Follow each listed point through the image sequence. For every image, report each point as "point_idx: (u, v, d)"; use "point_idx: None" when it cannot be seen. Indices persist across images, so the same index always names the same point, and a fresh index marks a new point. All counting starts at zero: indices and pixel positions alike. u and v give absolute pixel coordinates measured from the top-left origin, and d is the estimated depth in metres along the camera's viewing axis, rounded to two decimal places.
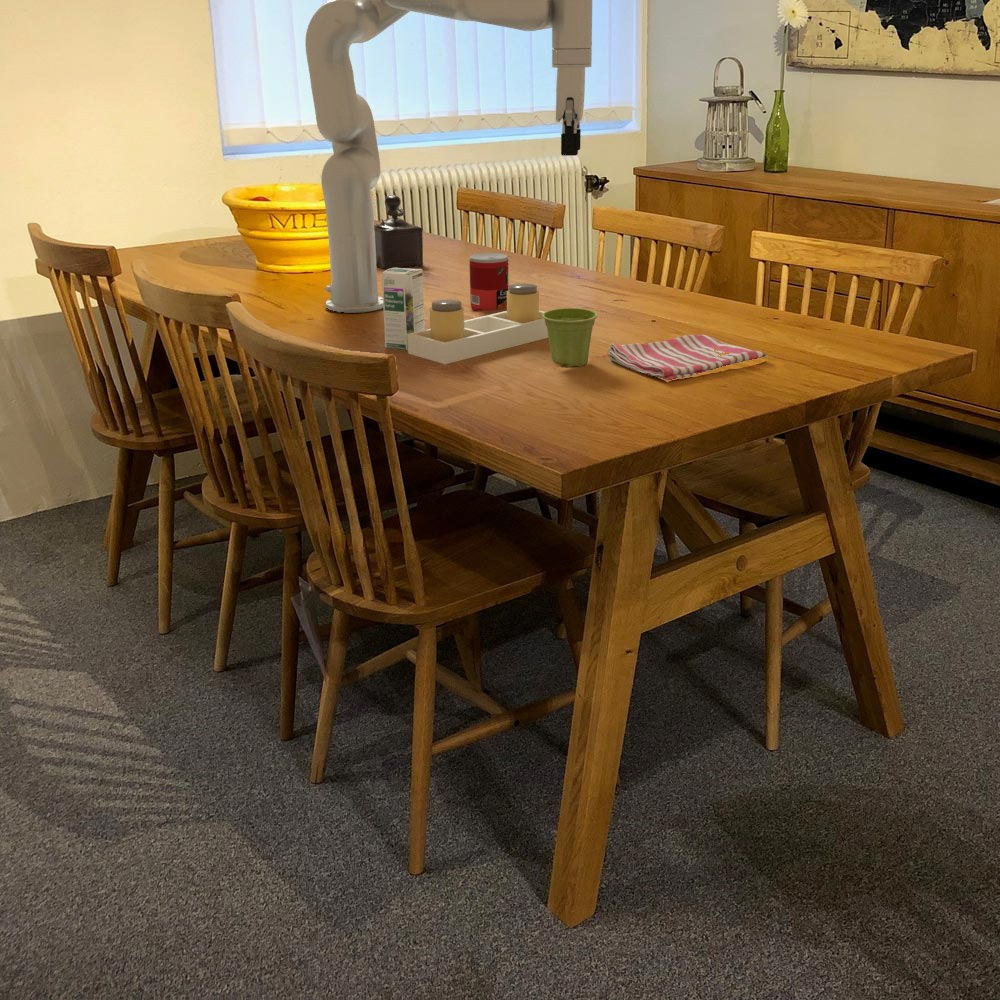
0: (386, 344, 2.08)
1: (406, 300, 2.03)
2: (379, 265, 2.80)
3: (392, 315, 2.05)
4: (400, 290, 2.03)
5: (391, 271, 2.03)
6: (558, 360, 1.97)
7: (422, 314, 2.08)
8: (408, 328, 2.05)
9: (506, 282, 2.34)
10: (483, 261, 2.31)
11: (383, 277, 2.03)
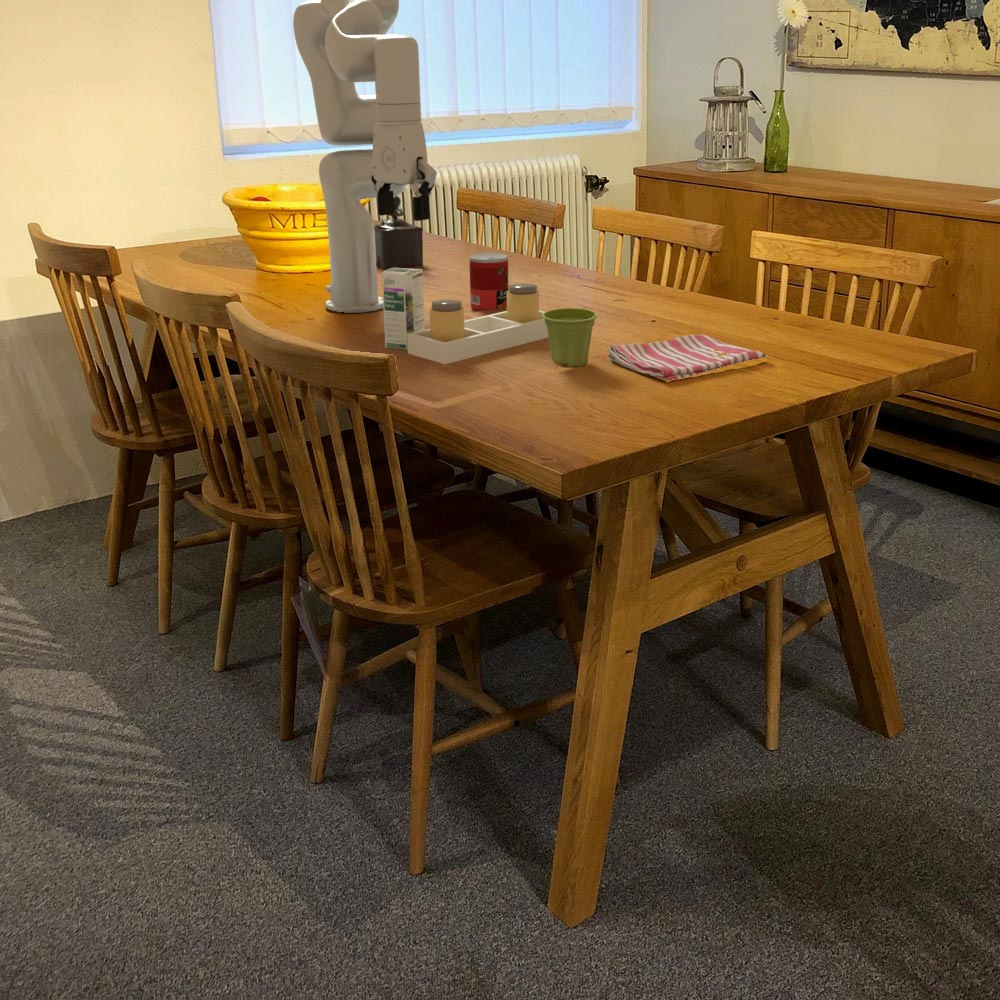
0: (386, 344, 2.08)
1: (406, 300, 2.03)
2: (379, 265, 2.80)
3: (392, 315, 2.05)
4: (400, 290, 2.03)
5: (391, 271, 2.03)
6: (558, 360, 1.97)
7: (422, 314, 2.08)
8: (408, 328, 2.05)
9: (506, 282, 2.34)
10: (483, 261, 2.31)
11: (383, 277, 2.03)
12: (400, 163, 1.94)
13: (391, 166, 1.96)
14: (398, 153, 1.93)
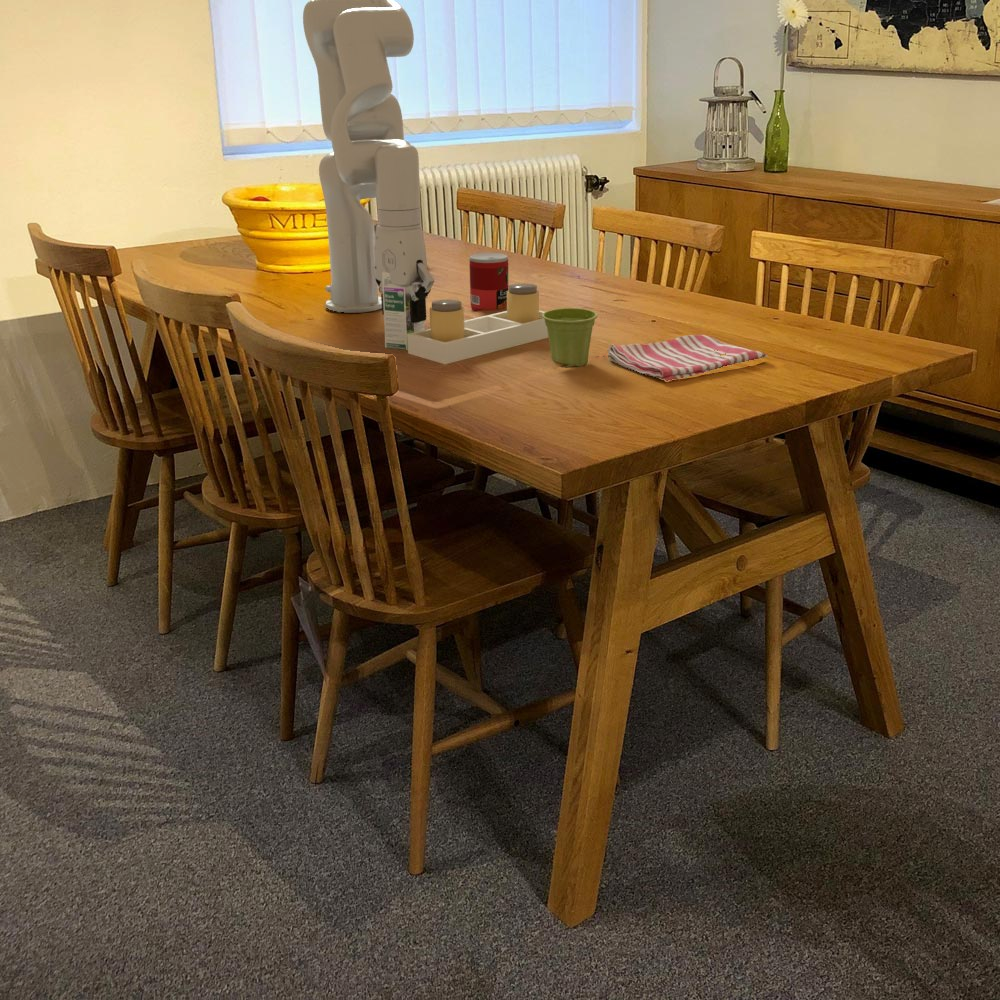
0: (386, 344, 2.08)
1: (406, 300, 2.03)
2: None
3: (392, 315, 2.05)
4: (400, 290, 2.03)
5: None
6: (558, 360, 1.97)
7: None
8: (408, 328, 2.05)
9: (506, 282, 2.34)
10: (483, 261, 2.31)
11: (383, 277, 2.03)
12: (400, 266, 2.00)
13: (392, 268, 2.02)
14: (398, 256, 2.00)
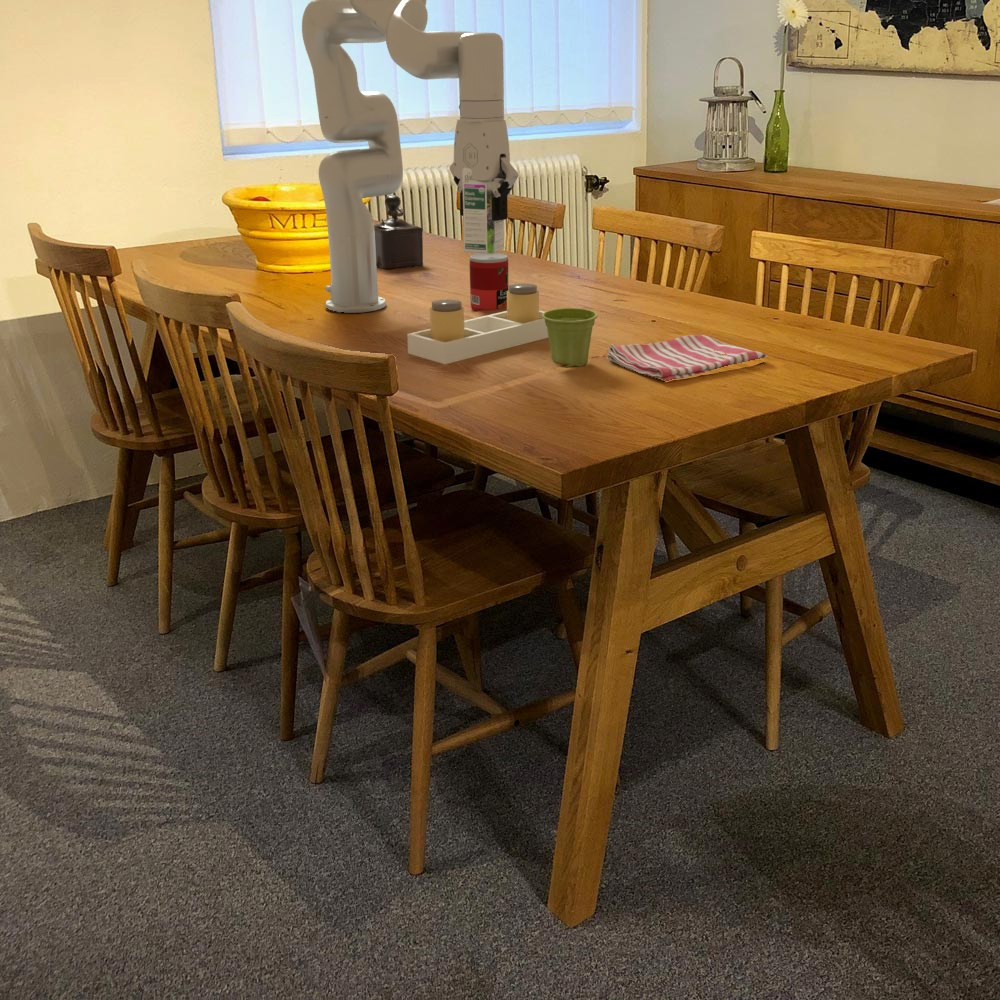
0: (465, 245, 2.01)
1: (488, 197, 1.96)
2: (379, 265, 2.80)
3: (472, 214, 1.98)
4: (482, 187, 1.96)
5: None
6: (558, 360, 1.97)
7: None
8: (489, 227, 1.98)
9: (506, 282, 2.34)
10: (483, 261, 2.31)
11: (464, 173, 1.97)
12: (483, 160, 1.93)
13: (473, 163, 1.95)
14: (481, 150, 1.93)
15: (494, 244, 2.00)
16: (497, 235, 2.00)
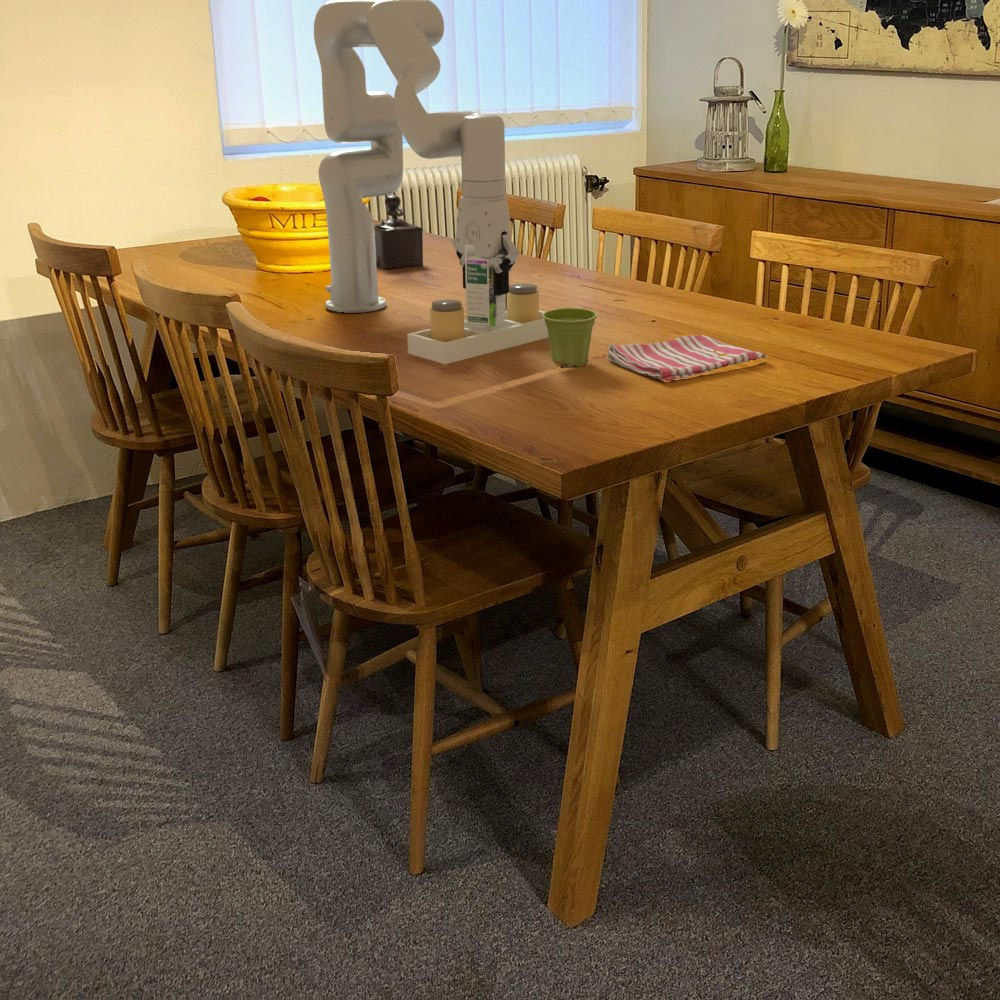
0: (467, 317, 2.06)
1: (490, 272, 2.01)
2: (379, 265, 2.80)
3: (475, 288, 2.03)
4: (484, 262, 2.01)
5: None
6: (558, 360, 1.97)
7: None
8: (491, 301, 2.03)
9: None
10: None
11: (466, 249, 2.02)
12: (485, 238, 1.98)
13: (475, 240, 2.00)
14: (483, 228, 1.98)
15: (496, 317, 2.05)
16: (499, 308, 2.05)
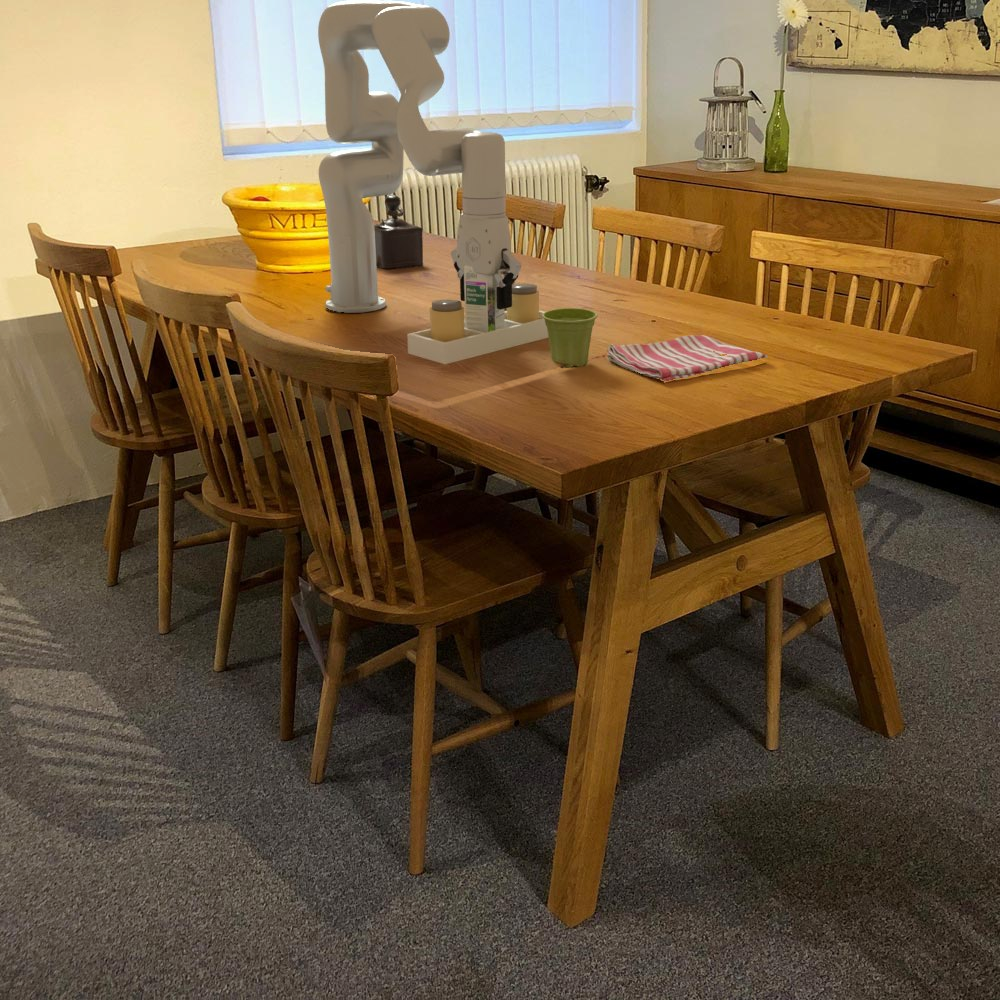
0: None
1: (488, 294, 2.03)
2: (379, 265, 2.80)
3: (474, 309, 2.05)
4: (482, 284, 2.03)
5: None
6: (558, 360, 1.97)
7: None
8: (489, 322, 2.05)
9: None
10: None
11: (465, 271, 2.03)
12: (485, 255, 1.99)
13: (476, 256, 2.01)
14: (484, 245, 1.99)
15: None
16: None
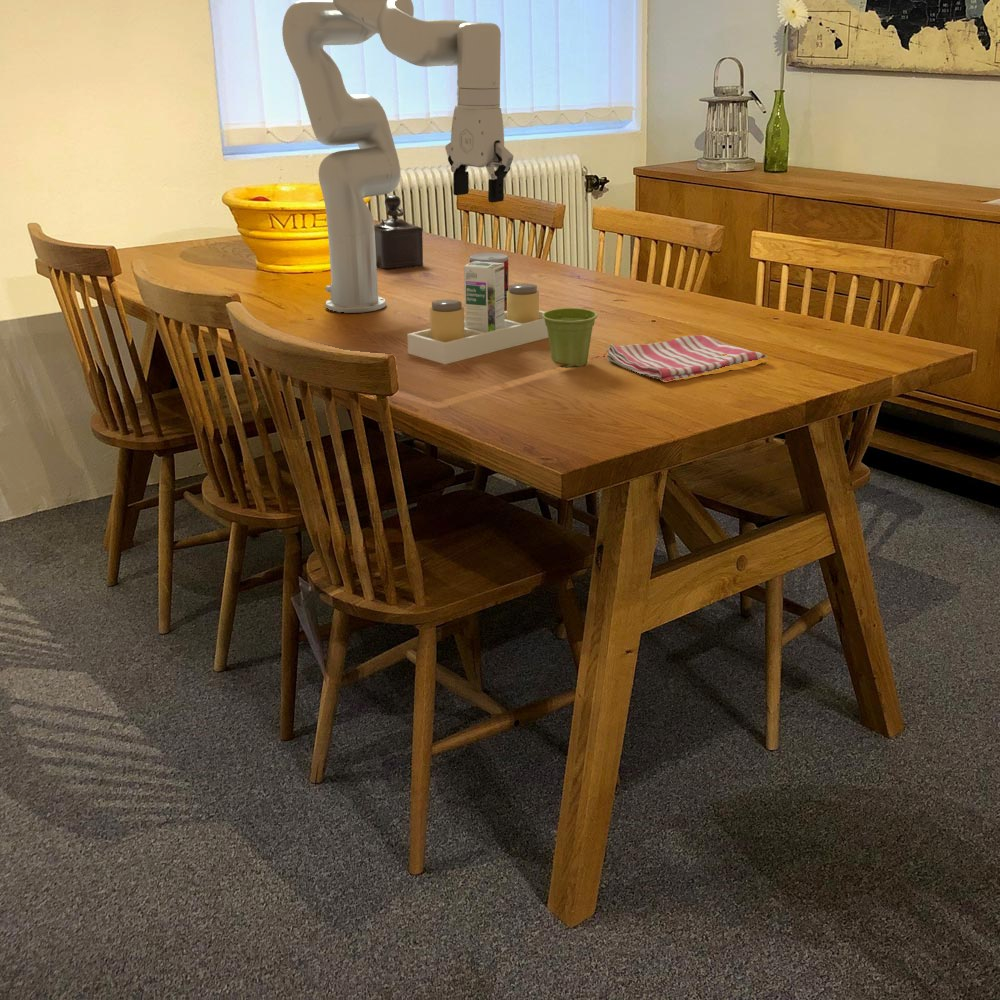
0: None
1: (488, 294, 2.03)
2: (379, 265, 2.80)
3: (474, 309, 2.05)
4: (483, 284, 2.03)
5: (473, 265, 2.03)
6: (558, 360, 1.97)
7: (503, 308, 2.08)
8: (489, 322, 2.05)
9: (506, 282, 2.34)
10: (483, 261, 2.31)
11: (465, 271, 2.03)
12: (478, 146, 2.01)
13: (469, 148, 2.03)
14: (477, 136, 2.00)
15: None
16: None
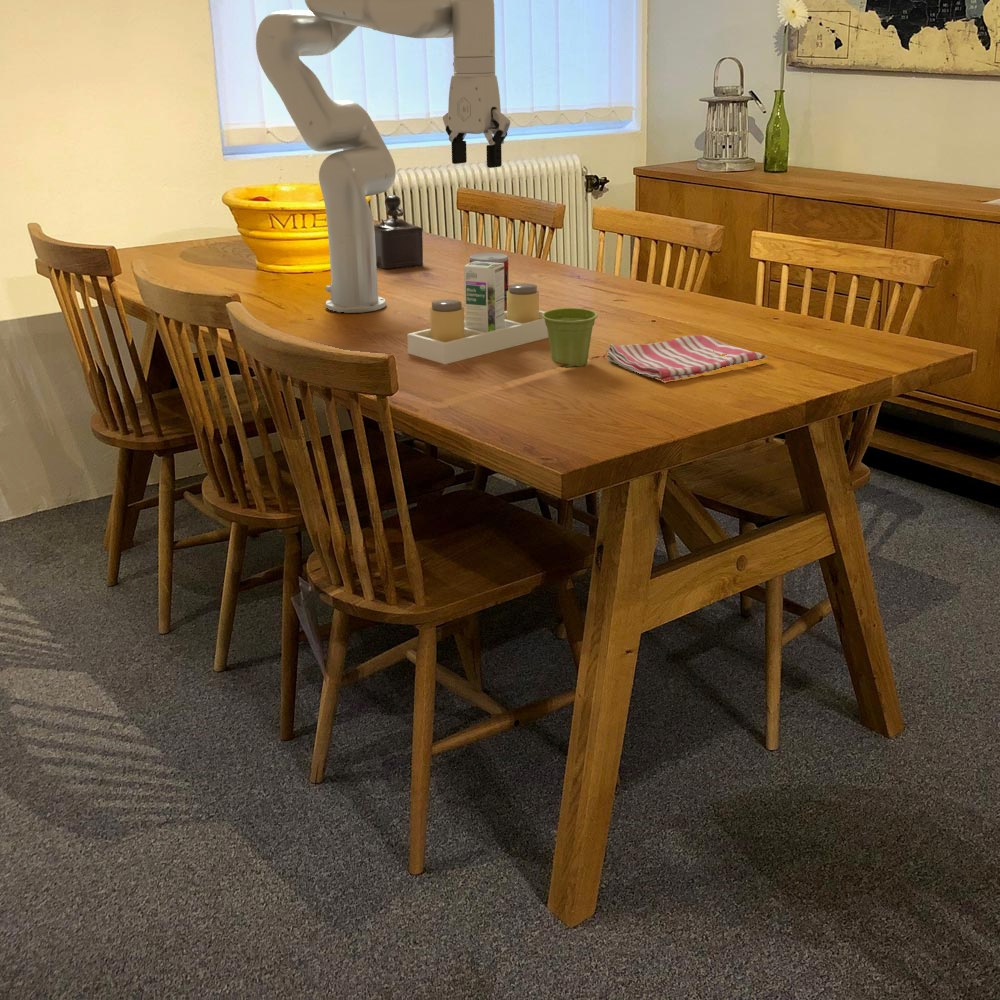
0: None
1: (489, 294, 2.03)
2: (379, 265, 2.80)
3: (474, 309, 2.05)
4: (483, 284, 2.03)
5: (473, 265, 2.03)
6: (558, 360, 1.97)
7: (503, 308, 2.08)
8: (489, 322, 2.05)
9: (506, 282, 2.34)
10: (483, 261, 2.31)
11: (465, 271, 2.03)
12: (476, 113, 2.07)
13: (467, 116, 2.09)
14: (474, 103, 2.07)
15: None
16: None
